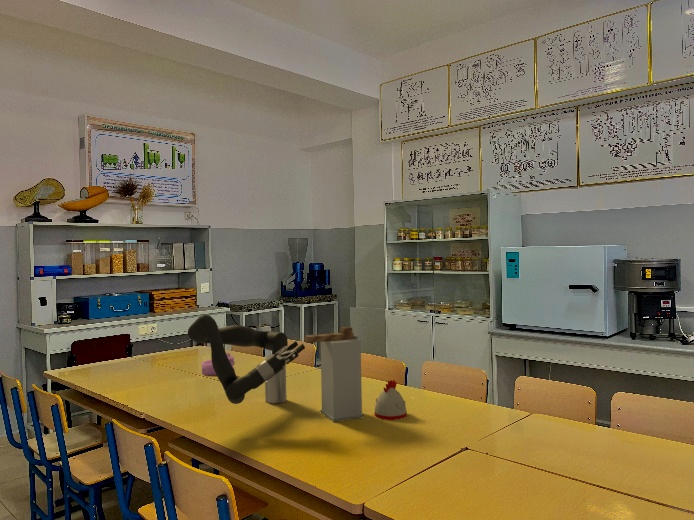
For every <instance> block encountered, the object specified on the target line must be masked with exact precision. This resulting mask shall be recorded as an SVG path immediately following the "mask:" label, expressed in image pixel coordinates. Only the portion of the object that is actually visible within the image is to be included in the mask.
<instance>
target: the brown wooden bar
mask: <svg viewBox="0 0 694 520" xmlns="http://www.w3.org/2000/svg"><path fill="white" fill-rule="evenodd" d="M354 335H355V334H354V332H353V327H351V326H342V327H341V326H340V332H335V333H334V332H333V333H332V332H331V333H321V334H310V335H308V334H307V335H304V342H305V343H307V344H311V343H312V344H313V343H321V342H325V341H336V340H348V339H354Z"/></svg>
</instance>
